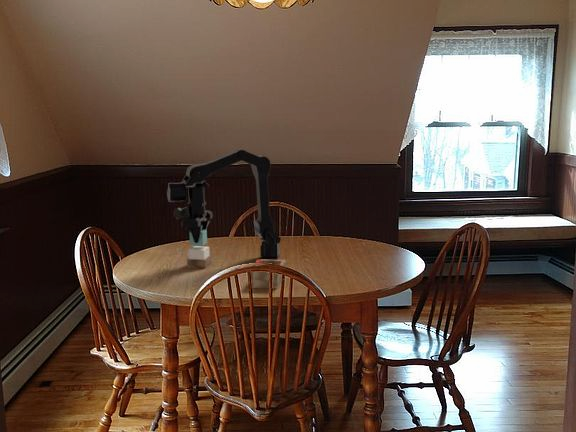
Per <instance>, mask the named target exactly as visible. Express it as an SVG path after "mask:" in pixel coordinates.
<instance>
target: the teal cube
mask: <svg viewBox="0 0 576 432" xmlns="http://www.w3.org/2000/svg"><path fill="white" fill-rule="evenodd" d="M207 230H208V229H206V230H201V234H200V237H199V241H198V243H195V242H194V239H193V236H192V234H191V231H190V230H189V232H188V233H189V246H192V247H194V246H203V247H204V246H205V245H206V244H208V231H207Z"/></svg>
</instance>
